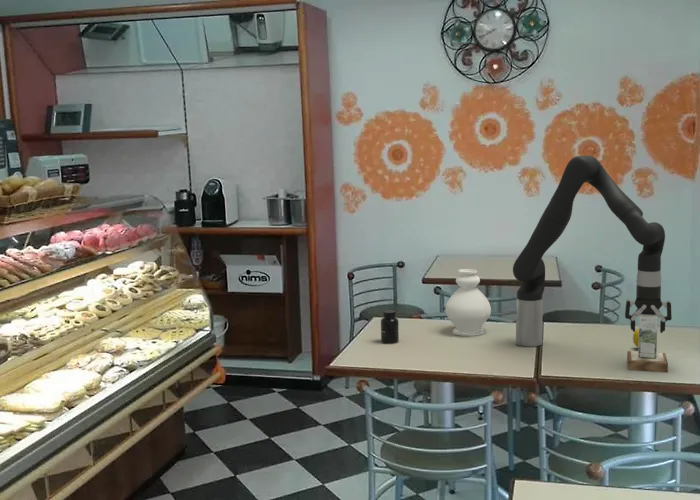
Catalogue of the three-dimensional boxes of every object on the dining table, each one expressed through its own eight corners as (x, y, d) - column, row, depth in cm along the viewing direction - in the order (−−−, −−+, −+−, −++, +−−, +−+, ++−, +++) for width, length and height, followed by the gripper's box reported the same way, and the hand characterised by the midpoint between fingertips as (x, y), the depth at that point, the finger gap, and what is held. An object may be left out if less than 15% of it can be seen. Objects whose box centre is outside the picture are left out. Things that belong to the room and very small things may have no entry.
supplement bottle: (378, 343, 296) (377, 312, 294) (384, 338, 302) (383, 308, 300) (395, 344, 293) (394, 313, 292) (401, 340, 300) (400, 309, 298)
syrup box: (657, 354, 258) (658, 312, 256) (656, 359, 253) (657, 316, 251) (638, 353, 260) (639, 311, 258) (637, 357, 255) (638, 315, 253)
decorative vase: (446, 326, 318) (445, 266, 314) (490, 326, 316) (489, 266, 312) (445, 337, 301) (444, 274, 297) (492, 337, 298) (491, 274, 294)
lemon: (650, 351, 273) (651, 329, 272) (634, 351, 274) (634, 329, 273) (647, 347, 278) (648, 325, 277) (631, 347, 279) (632, 325, 278)
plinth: (628, 369, 253) (628, 360, 253) (627, 359, 264) (627, 350, 264) (667, 372, 249) (667, 362, 249) (664, 361, 261) (665, 352, 260)
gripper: (626, 285, 252) (625, 333, 254) (673, 286, 247) (671, 335, 250) (625, 280, 259) (624, 328, 261) (671, 282, 254) (669, 330, 257)
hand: (647, 331), depth 255 cm, fingers open, 8 cm apart
